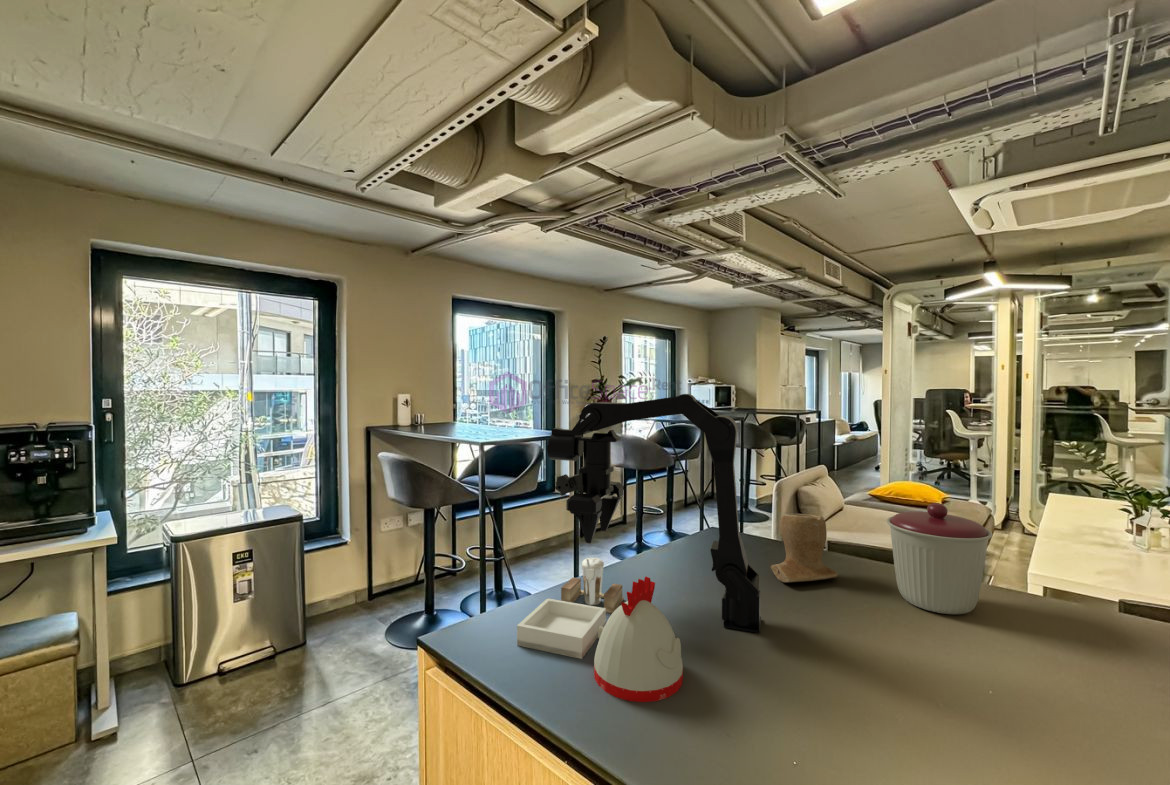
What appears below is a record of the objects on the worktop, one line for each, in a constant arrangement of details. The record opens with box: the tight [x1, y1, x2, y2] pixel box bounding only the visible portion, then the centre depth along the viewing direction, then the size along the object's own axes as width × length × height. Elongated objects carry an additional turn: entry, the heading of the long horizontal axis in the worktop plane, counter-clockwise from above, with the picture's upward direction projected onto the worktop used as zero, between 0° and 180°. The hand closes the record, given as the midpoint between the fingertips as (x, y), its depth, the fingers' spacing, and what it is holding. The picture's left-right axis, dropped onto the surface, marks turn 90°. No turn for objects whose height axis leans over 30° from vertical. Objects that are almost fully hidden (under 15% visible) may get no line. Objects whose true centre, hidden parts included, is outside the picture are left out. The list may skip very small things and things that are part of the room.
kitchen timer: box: [593, 576, 684, 703], centre depth 81 cm, size 14×14×15 cm
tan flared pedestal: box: [770, 513, 839, 583], centre depth 122 cm, size 15×12×15 cm
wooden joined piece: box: [560, 577, 625, 614], centre depth 107 cm, size 11×7×4 cm, turn 69°
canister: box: [886, 502, 993, 615], centre depth 107 cm, size 18×18×21 cm
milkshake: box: [581, 557, 605, 606], centre depth 107 cm, size 5×5×10 cm
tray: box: [516, 598, 607, 660], centre depth 93 cm, size 12×12×4 cm
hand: (596, 536), depth 107 cm, fingers open, 9 cm apart
